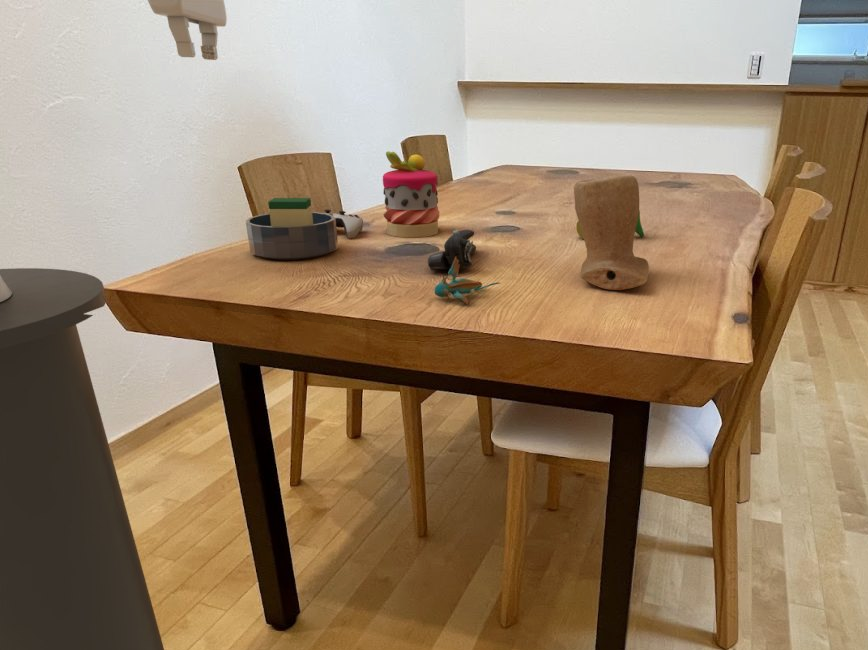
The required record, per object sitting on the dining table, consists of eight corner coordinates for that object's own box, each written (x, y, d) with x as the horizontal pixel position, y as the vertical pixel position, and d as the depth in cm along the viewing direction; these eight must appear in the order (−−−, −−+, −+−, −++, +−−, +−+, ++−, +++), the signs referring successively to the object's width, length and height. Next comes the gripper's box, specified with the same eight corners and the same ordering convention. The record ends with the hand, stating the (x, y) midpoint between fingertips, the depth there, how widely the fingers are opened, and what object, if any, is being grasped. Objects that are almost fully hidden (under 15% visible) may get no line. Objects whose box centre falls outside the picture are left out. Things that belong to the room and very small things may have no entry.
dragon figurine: (448, 277, 95) (424, 267, 87) (494, 260, 92) (474, 249, 85) (459, 320, 94) (436, 314, 86) (506, 305, 92) (486, 297, 84)
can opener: (468, 277, 99) (467, 239, 96) (423, 274, 100) (421, 237, 97) (491, 251, 114) (491, 218, 112) (452, 249, 116) (451, 216, 113)
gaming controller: (297, 229, 124) (310, 198, 126) (313, 248, 129) (325, 218, 131) (350, 234, 120) (362, 202, 123) (364, 253, 126) (375, 222, 128)
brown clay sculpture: (575, 264, 107) (581, 167, 101) (650, 269, 104) (660, 170, 98) (560, 289, 93) (564, 179, 87) (645, 296, 91) (656, 183, 85)
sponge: (274, 250, 110) (267, 201, 107) (280, 245, 114) (273, 197, 110) (311, 250, 111) (305, 201, 107) (315, 245, 114) (310, 197, 111)
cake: (418, 224, 135) (415, 147, 129) (450, 232, 128) (448, 151, 122) (374, 231, 129) (369, 150, 123) (406, 240, 122) (401, 154, 116)
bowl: (252, 264, 104) (247, 229, 101) (249, 245, 116) (244, 214, 113) (344, 257, 109) (341, 224, 106) (331, 240, 121) (328, 209, 118)
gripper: (184, -45, 96) (201, 60, 102) (121, -77, 78) (146, 55, 83) (229, -44, 97) (243, 61, 102) (176, -75, 78) (198, 56, 84)
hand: (199, 58), depth 93 cm, fingers open, 8 cm apart
